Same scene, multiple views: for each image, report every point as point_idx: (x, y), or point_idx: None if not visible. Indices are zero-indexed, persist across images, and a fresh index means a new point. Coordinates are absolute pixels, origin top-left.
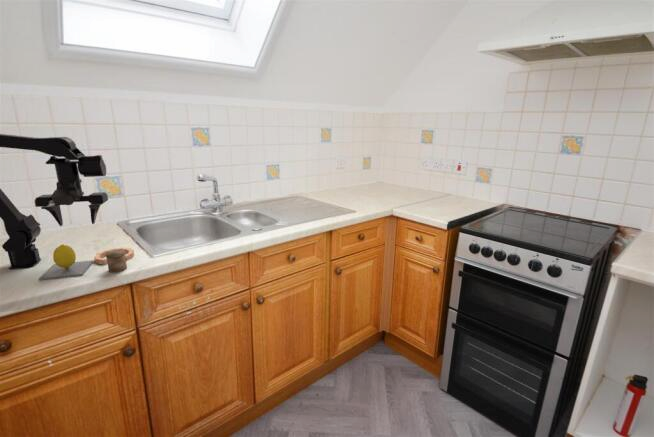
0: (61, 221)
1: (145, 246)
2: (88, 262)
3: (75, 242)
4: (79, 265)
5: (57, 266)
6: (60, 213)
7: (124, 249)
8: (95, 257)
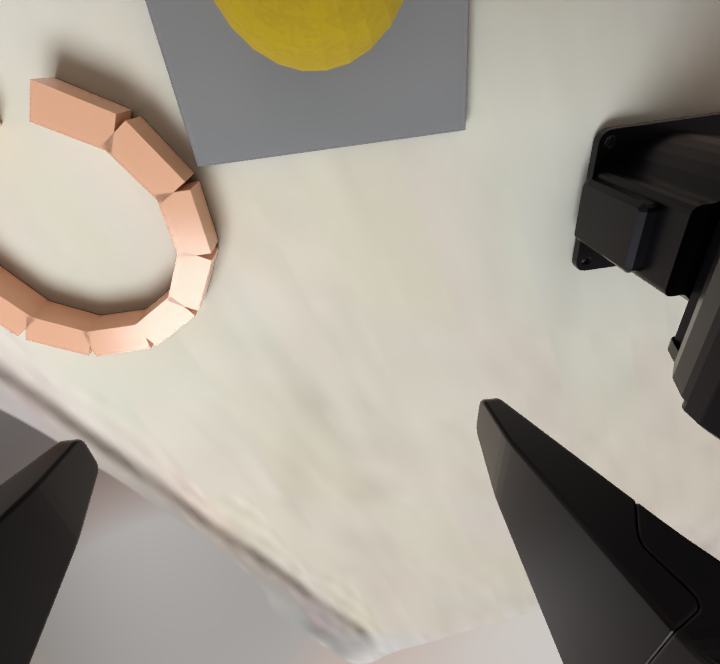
0: (498, 466)
1: (16, 404)
2: (204, 117)
3: (464, 482)
4: (241, 49)
5: (416, 63)
6: (557, 622)
7: (53, 321)
8: (168, 173)
